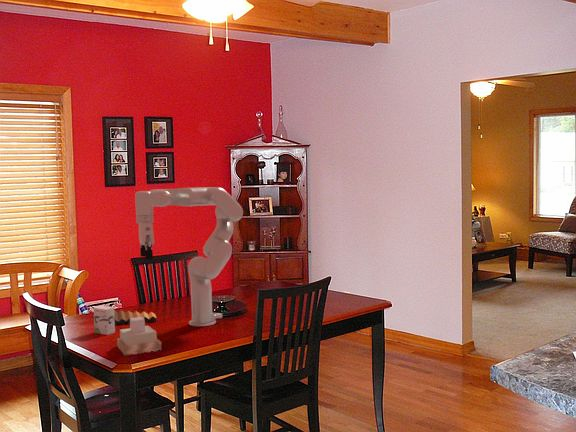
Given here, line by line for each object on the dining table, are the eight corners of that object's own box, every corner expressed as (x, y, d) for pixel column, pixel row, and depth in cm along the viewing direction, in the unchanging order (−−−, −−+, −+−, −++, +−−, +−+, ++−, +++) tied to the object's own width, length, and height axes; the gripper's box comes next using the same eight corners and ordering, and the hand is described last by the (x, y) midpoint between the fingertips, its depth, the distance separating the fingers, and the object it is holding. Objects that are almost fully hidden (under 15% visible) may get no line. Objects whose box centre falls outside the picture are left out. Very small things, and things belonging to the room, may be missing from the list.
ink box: (93, 333, 313) (92, 307, 312) (101, 330, 317) (100, 305, 316) (108, 335, 309) (106, 309, 308) (115, 332, 313) (114, 306, 312)
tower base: (153, 343, 296) (152, 333, 295) (161, 351, 282) (161, 342, 282) (117, 347, 290) (117, 338, 289) (124, 357, 276) (123, 347, 276)
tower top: (148, 335, 294) (148, 325, 293) (156, 341, 283) (156, 331, 283) (120, 339, 288) (119, 329, 288) (127, 345, 278) (127, 336, 277)
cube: (142, 328, 288) (141, 316, 288) (145, 331, 284) (144, 319, 283) (130, 330, 286) (129, 318, 286) (133, 333, 282) (132, 321, 281)
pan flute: (102, 316, 349) (103, 327, 325) (102, 309, 349) (102, 320, 325) (152, 311, 356) (156, 322, 332) (152, 305, 355) (156, 315, 331)
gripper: (157, 220, 298) (159, 259, 300) (149, 217, 314) (150, 254, 316) (140, 221, 295) (142, 260, 297) (132, 218, 311) (134, 255, 313)
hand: (146, 257), depth 306 cm, fingers open, 9 cm apart
